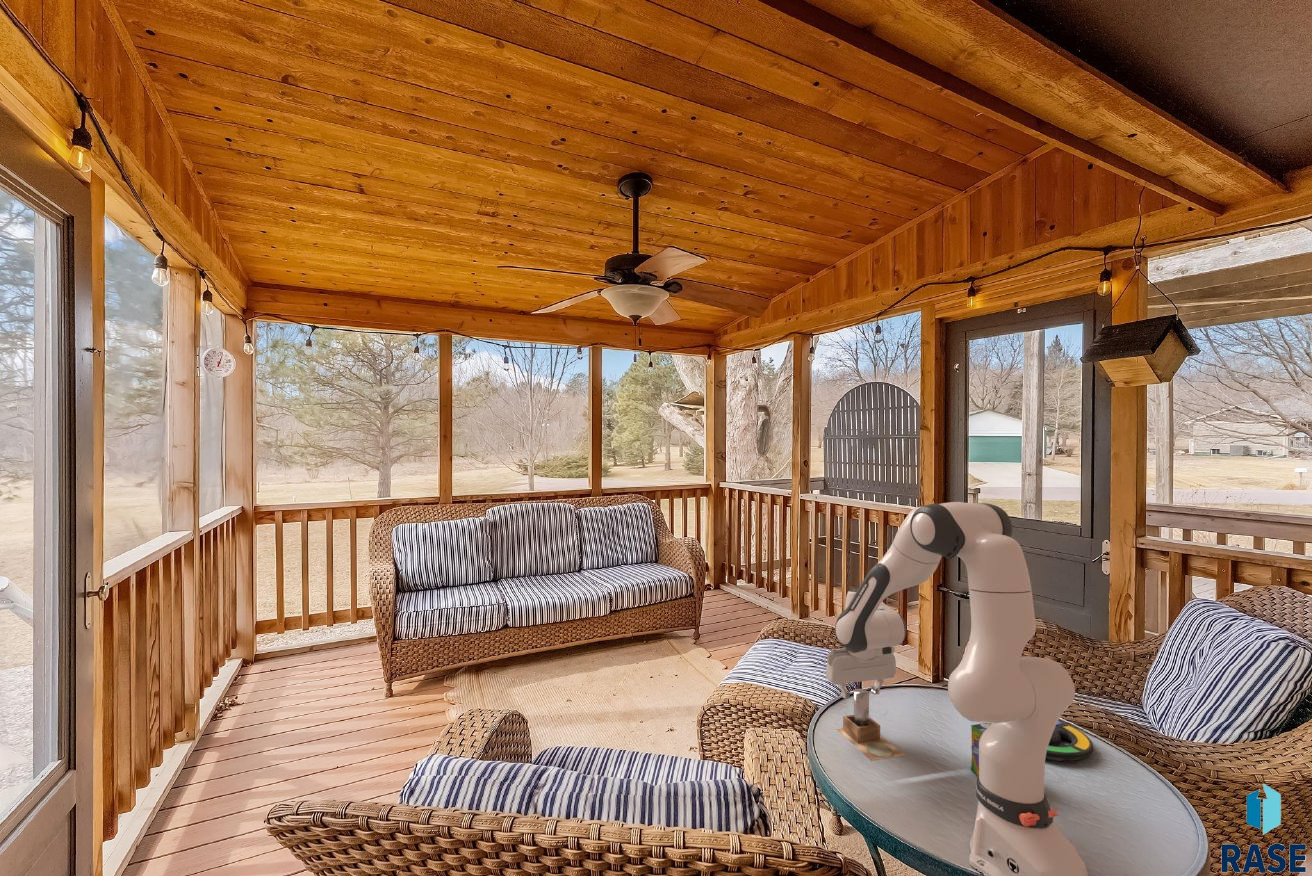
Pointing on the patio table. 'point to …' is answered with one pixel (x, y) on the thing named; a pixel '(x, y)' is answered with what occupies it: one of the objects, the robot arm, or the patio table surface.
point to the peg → (861, 707)
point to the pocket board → (868, 739)
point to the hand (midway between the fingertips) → (860, 695)
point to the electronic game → (1073, 751)
